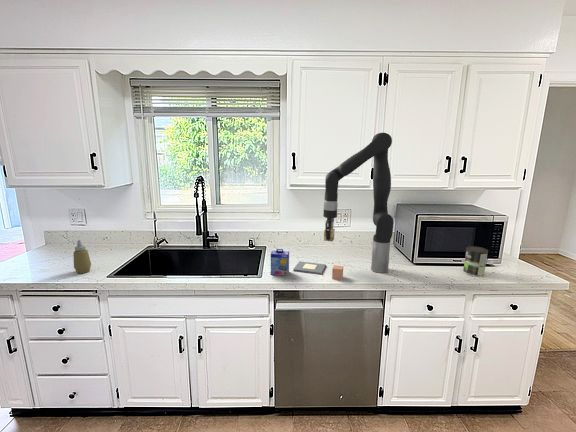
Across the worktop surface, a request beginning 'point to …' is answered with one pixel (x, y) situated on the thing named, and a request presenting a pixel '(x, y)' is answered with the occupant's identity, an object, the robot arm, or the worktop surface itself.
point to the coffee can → (475, 261)
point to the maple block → (330, 235)
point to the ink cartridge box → (279, 262)
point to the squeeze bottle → (81, 259)
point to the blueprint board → (309, 267)
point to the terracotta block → (337, 272)
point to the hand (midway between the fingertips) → (329, 238)
